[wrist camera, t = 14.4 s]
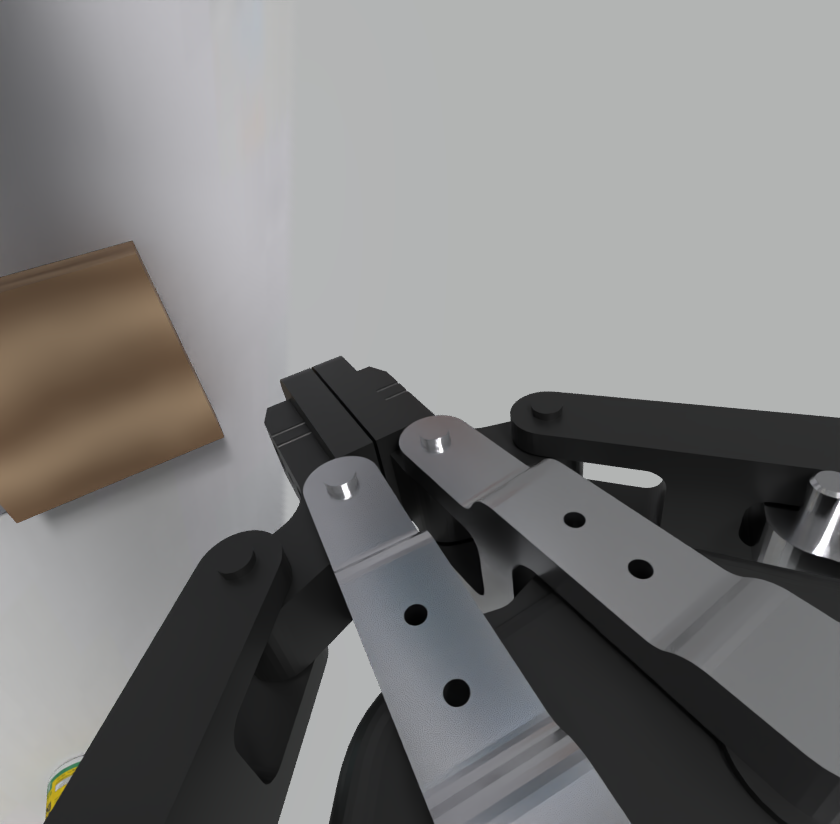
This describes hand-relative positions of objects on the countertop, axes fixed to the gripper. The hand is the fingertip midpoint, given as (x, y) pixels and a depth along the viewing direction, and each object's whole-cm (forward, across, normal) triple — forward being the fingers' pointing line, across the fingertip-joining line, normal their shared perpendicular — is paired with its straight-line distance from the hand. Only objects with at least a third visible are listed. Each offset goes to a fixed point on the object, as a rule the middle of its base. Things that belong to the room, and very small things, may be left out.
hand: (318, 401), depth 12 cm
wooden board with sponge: (+29, +10, +8) cm, 32 cm away
